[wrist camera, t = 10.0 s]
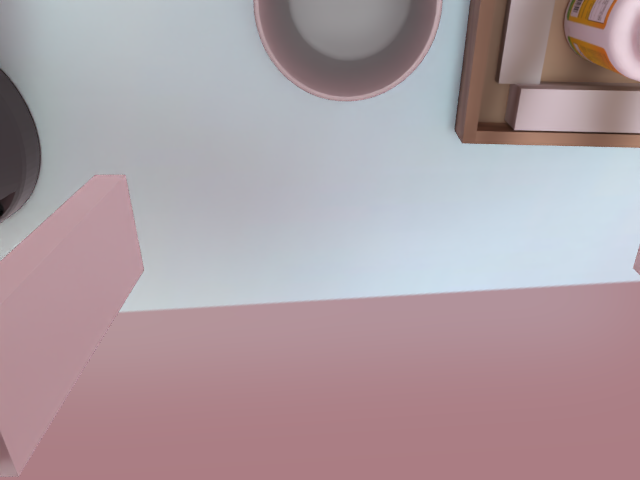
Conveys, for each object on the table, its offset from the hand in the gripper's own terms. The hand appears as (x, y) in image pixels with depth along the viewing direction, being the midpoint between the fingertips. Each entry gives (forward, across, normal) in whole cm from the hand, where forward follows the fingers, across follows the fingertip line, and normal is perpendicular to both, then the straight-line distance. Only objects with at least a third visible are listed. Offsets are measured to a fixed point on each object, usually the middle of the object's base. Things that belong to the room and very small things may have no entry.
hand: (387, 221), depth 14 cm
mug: (+25, -1, +6) cm, 25 cm away
